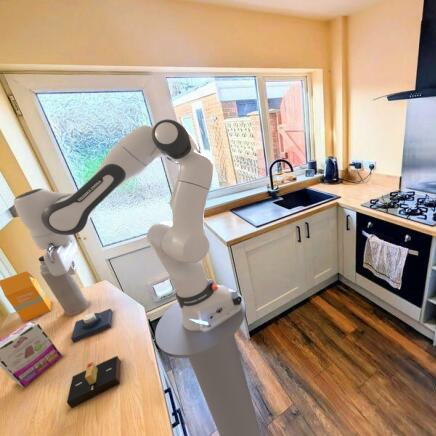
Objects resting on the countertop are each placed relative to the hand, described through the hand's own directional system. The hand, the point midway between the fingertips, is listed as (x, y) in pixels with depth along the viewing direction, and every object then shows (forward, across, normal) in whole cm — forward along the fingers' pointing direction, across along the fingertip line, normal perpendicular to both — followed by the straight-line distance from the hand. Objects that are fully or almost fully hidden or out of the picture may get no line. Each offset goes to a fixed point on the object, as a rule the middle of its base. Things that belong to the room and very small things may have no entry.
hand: (73, 272), depth 86 cm
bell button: (+23, +4, +4) cm, 24 cm away
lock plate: (+27, -26, 0) cm, 37 cm away
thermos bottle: (+27, +22, +12) cm, 37 cm away
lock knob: (+24, -26, 0) cm, 35 cm away
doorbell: (+27, +4, +4) cm, 28 cm away
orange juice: (+27, +32, +28) cm, 50 cm away
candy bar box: (+27, -8, +18) cm, 34 cm away
